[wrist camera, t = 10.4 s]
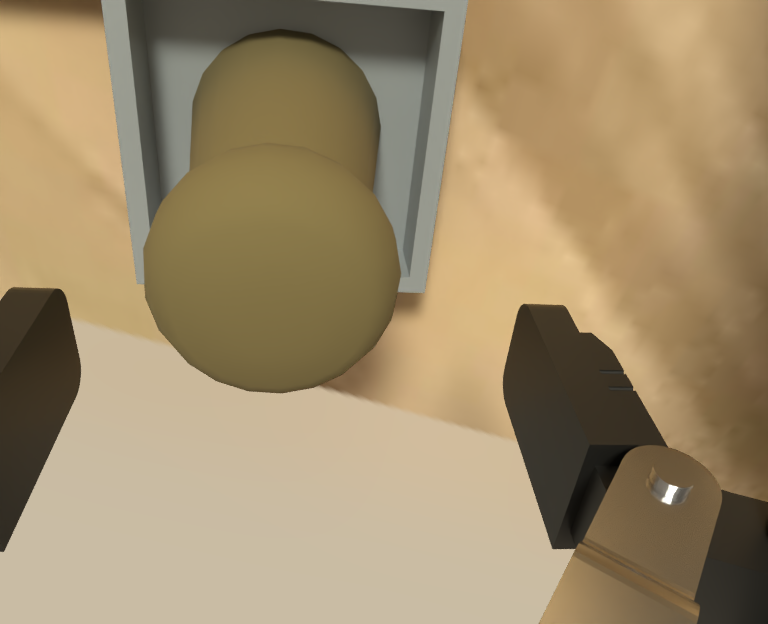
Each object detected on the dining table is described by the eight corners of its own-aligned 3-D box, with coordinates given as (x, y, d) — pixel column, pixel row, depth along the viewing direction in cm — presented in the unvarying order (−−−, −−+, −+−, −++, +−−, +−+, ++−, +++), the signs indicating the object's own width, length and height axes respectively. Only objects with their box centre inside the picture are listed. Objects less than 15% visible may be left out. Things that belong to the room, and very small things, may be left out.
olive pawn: (315, 244, 24) (318, 475, 15) (157, 152, 22) (45, 359, 12) (418, 105, 21) (498, 279, 12) (253, -16, 19) (202, 88, 10)
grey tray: (453, -24, 20) (469, -11, 18) (415, 258, 25) (424, 292, 23) (118, -55, 19) (95, -46, 17) (151, 247, 24) (136, 284, 22)
